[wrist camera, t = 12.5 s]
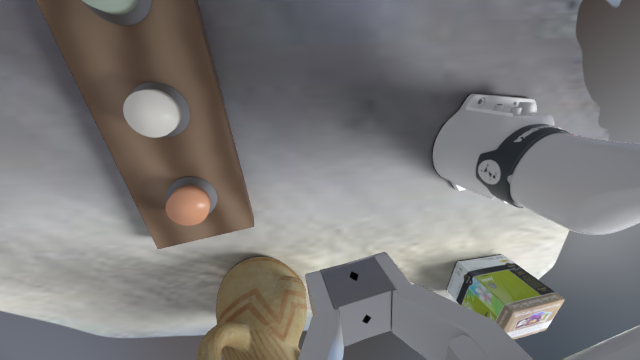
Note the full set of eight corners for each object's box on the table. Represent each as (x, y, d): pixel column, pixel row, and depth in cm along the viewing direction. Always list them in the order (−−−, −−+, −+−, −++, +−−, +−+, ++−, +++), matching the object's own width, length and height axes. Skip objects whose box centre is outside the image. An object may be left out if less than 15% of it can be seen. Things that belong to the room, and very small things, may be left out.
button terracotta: (204, 181, 33) (202, 187, 31) (215, 213, 35) (213, 220, 33) (164, 189, 32) (159, 196, 30) (177, 221, 34) (173, 229, 32)
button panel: (173, -90, 26) (163, -110, 23) (253, 216, 42) (254, 227, 39) (11, -91, 23) (-22, -114, 20) (164, 237, 39) (157, 250, 36)
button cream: (172, 86, 28) (167, 87, 26) (187, 129, 30) (183, 133, 28) (123, 92, 27) (114, 93, 25) (142, 137, 29) (135, 141, 27)
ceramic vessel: (264, 326, 52) (276, 513, 30) (183, 286, 43) (115, 508, 21) (323, 275, 51) (381, 430, 29) (252, 222, 42) (257, 389, 20)
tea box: (445, 290, 64) (495, 346, 51) (456, 259, 60) (513, 311, 47) (490, 282, 68) (548, 332, 55) (503, 253, 64) (568, 299, 51)
